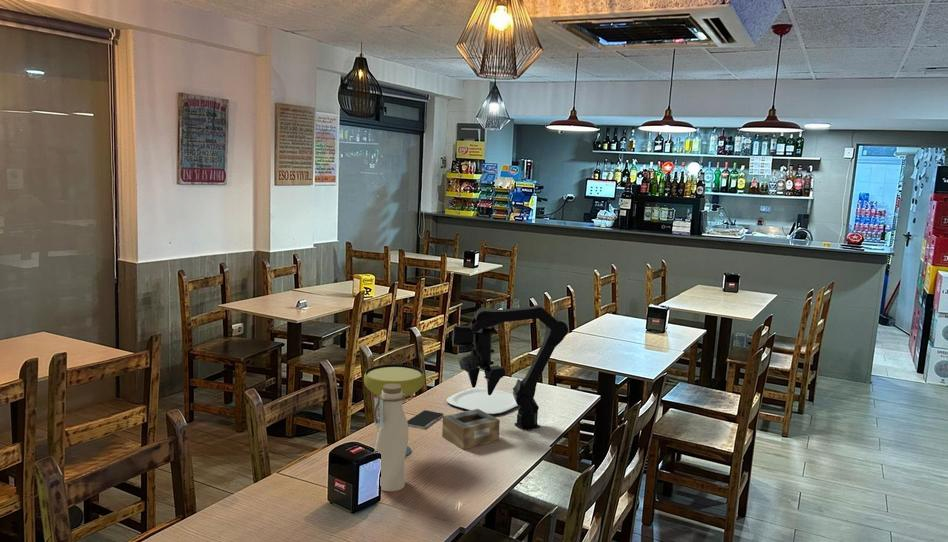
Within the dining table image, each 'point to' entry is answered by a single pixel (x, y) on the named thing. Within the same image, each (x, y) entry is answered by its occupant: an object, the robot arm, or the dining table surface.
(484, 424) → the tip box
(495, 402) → the plate
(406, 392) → the cocktail glass
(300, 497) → the dining table surface
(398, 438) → the water bottle
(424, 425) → the smartphone
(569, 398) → the dining table surface
